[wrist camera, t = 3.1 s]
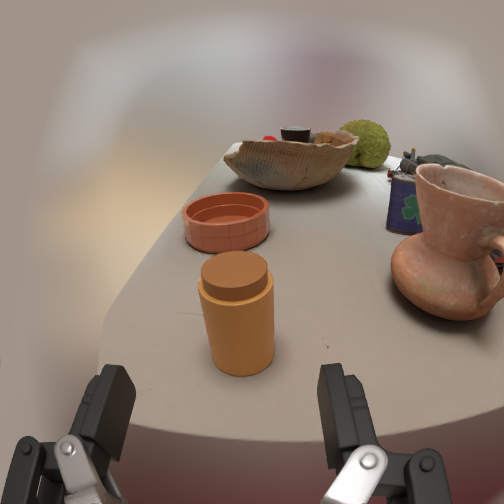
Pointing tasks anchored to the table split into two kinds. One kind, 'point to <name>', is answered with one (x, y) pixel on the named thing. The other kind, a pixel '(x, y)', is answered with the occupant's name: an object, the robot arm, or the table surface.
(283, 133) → the coffee mug
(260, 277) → the orange lidded canister
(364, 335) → the table surface
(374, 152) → the fruit
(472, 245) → the ceramic jug
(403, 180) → the flask
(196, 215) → the terracotta bowl
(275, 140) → the toy figure
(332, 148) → the ceramic bowl
